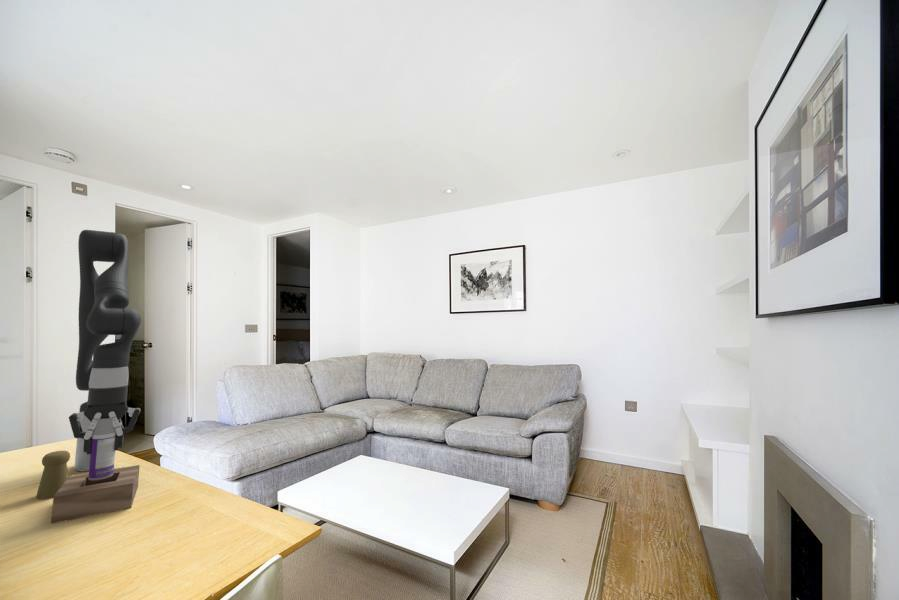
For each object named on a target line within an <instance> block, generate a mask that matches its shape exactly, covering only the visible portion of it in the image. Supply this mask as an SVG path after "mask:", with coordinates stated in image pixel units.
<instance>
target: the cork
mask: <svg viewBox="0 0 899 600" xmlns="http://www.w3.org/2000/svg"><path fill="white" fill-rule="evenodd" d="M70 458H71V453H70V452H69V451H67V450H56V451H51V452H49V453H46V454H45V455H44V456H43V457H42V458H41V464H42V466H43V471H42V474H41V478H40V482H39V485H38V489H37V492H36V496H35V498H36V500H41V499H42V500H50V499H53V497H54V495H55V494H56V493H57V492H58V490H59V489H60V488H61V486H62V485H63V484H64V483H65V481H66V480H67V479H68V477H69V475H68V474H69V473H68V464H67V463H68V462H69V461H70Z"/></svg>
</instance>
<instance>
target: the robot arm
mask: <svg viewBox="0 0 899 600" xmlns="http://www.w3.org/2000/svg"><path fill="white" fill-rule="evenodd" d="M77 242H78V243H77V244H78V245H77V246H78V247H77V248H78V261H79V263H78V264H79V299H78V351H77V352H78V353H77V362H76V372H75V386H76V388H77V390H79V391H83V392H84V391H85V392H86V391H87V392H88V394H87V401H85V402H83V403H81V404H80V406H79V412H73V413H72V414H71V415H69V417H68V419H69V420H68V421H69V424H70V427H71V432H72V434H73V437H74V438H75V439H76V447H75V457H74V467H73V470H74V471H75V472H89V466H90V455H91V444H92V434H93V431H94V429H95V427H96V425H97V420H98V419H100V418H113V427H114V429H115V431H116V433H117V436H116V440H115V452H116V451H119V450H120V449H121V448H122V446H123V445H124V436H125V434H127V433H131V432H132V431H133V429H134V427H135V425H136V422H137V420H138V418H139V415H140V413H141V411H142V410H141V408H140V407H135V408H134V407H129V406H128V403H127V400H128V392H129V391H128V389H129V388H128V387H129V376H130V375H129V374H130V372H129V363H130V352H131V348H132V345H133V342H134V339H135V337H136V334H138V333H137V332H138V330H139V329H140V326H141V322H142V317H141V314H140V312H139V311H138V310H136V309H134V308H127V307H128V306H129V304H130V295H129V288H128V275H129V274H128V273H129V263H130V262H129V261H130V260H129V259H130V246H129V240H128V237H127V236H126V235H125V234H123V233H120V232H112V231H101V230H93V229H92V230H91V229H82V230H81V231H80V233H79V236H78V241H77ZM94 262H99V263H100V262H103V263H105V262H106V263H112V264H111V265H110V266H109V267H108V268H106V269H105V270H103V272H102V273H100V274H98V273H97V270H96V268H95V266H94ZM115 335H116V336H120V338H119V339H118V340H116V341H114V342H110V343H109V342H108V343H103V342H105V340H106V339H107V337H109V336H115ZM102 343H103V344H102ZM126 413H128V416H129V417H130V420H129V422H128V425H127V426H126V427H124V425H123V421H122V418H123V416H124V415H125V414H126Z"/></svg>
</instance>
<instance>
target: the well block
mask: <svg viewBox="0 0 899 600" xmlns="http://www.w3.org/2000/svg"><path fill="white" fill-rule="evenodd" d="M140 467H141V466H140V464H138V465H132V466H124V467H118V468H117V467H116V468H114V472H113V475H112V476H111V477H108V478H105V479H101V480H89V479H88V477H89V472H84V473H80V474H79V473H78V474H72V475H68V479H67V480H66V481H65V483H64V484H63V485H62V486H61V488H60V489H59V490H58V492H57V493H56V494H55V495H54V497H53V498H52V500H53V501H52V509H51V518H50V524H51V523H52V524H56V523H61V521H62V522H66V521H65V520H67V521H72V520H76V519H82V518H87V517H90V516H91V515H92V516H96V515H95V514H97V515H101V513H102V514H106V513H111V512H116V511H120V510H121V511H122V510H126V509H131V508H132V506H133V503H134V500H135V497H136V495H137V491H138V488H139V479H140V478H139V477H140ZM92 516H91V517H92Z"/></svg>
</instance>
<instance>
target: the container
mask: <svg viewBox="0 0 899 600" xmlns="http://www.w3.org/2000/svg"><path fill="white" fill-rule="evenodd" d="M116 436H117V433H116V431H115V429H114V427H113V418H100V419H98V420H97V425H96V427H95V429H94V431H93V434H92V444H91V455H90V466H89V471H88V473H89V477H88V479H89V480H101V479H105V478H108V477H111V476H112V475H113V472H114V469H115V459H116V451H115V440H116Z"/></svg>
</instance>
